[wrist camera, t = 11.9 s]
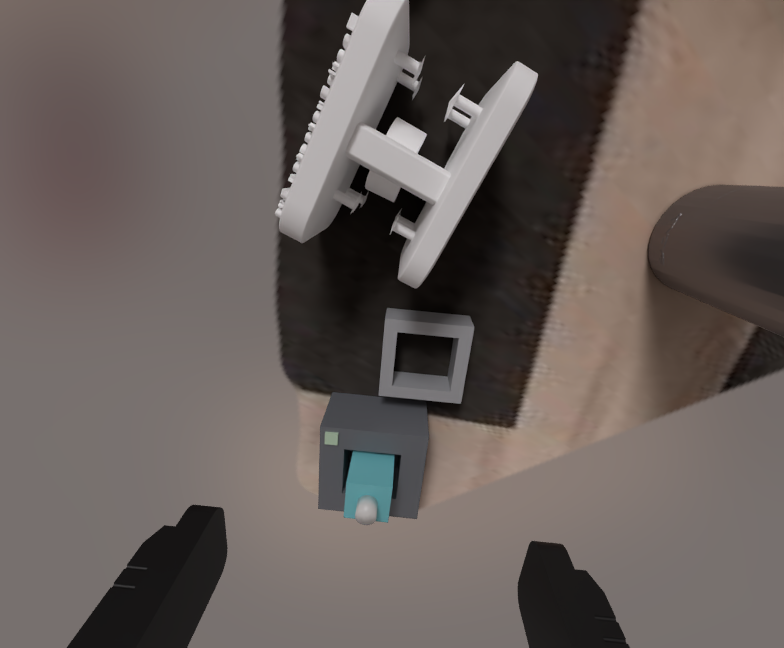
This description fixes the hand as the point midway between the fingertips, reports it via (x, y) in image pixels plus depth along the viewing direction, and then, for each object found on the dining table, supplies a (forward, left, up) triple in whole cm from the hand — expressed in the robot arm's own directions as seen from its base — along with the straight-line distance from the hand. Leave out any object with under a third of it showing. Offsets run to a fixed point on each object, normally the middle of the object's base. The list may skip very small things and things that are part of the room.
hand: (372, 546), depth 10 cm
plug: (+1, +18, -27) cm, 32 cm away
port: (+1, +18, -28) cm, 33 cm away
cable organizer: (+1, -10, -28) cm, 30 cm away
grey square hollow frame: (-3, +7, -28) cm, 29 cm away
